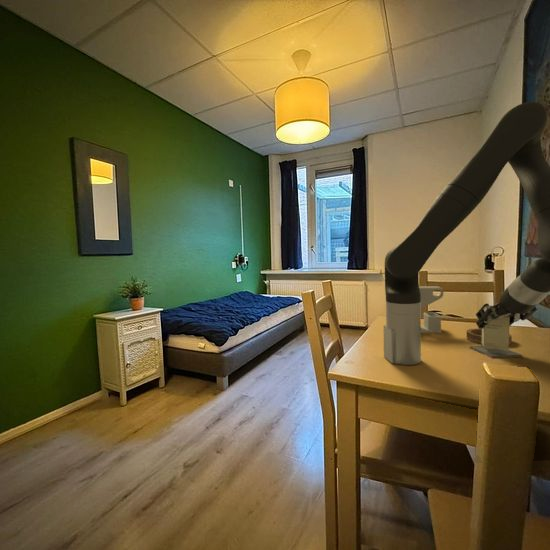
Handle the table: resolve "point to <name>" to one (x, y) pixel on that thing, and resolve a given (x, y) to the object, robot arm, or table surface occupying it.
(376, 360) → the table surface
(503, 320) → the skincare box
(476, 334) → the walnut ring stand
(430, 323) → the phone holder
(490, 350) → the slate coaster
